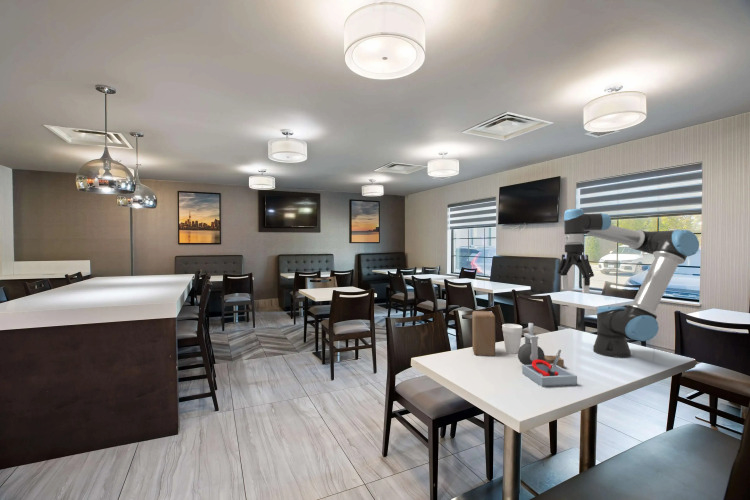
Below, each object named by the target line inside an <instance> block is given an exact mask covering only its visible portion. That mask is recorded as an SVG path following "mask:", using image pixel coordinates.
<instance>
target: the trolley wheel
mask: <svg viewBox="0 0 750 500" xmlns="http://www.w3.org/2000/svg"><path fill="white" fill-rule="evenodd" d="M527 327H528V332H527V333H525V332H524V333H523V336H524V344H522V345H520V348H519V351H518V354H517V358H518V360H519V362H520V364H522V365H532V362H533V360H536V359H539V360H543V361H544V358H545V351H544V350H543V349H542V348H541V347H540V346H539V345H538V342H539V341H538V339H539V336H538V335H536V334H534V323H533V322H528V326H527ZM537 364H542V363H537ZM537 364H536V365H537Z"/></svg>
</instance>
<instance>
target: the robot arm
mask: <svg viewBox="0 0 750 500" xmlns="http://www.w3.org/2000/svg"><path fill="white" fill-rule="evenodd" d="M563 228H564V229H563V230H564V243H565V244H564V252H565V254H561V260H560V263H559V267H558V269H557V274H559V275H560V281H561V290H565V291H566V290H569V276H568V273H569V271H570V269H571V268H572V266H573V265H574V266H576V267H577V268H578V270H579V272H580V274H581V275H582V278H581V281H582V282H581V287H582V288H581V291H582V294H590V285H591V278H592V277H595V274H594V271H593V269H592V268H593V267H592V266H591V263H590V260H589V256H588V254H583V253H584V252H585V245H584V243H585V235H587V236H590V237H595V238H598V239H602V240H606V241H610V242H613V243H618V244H620V245H621V244H622V245H625V246H628V247H629V249H632V250H636V251H639V252H642V253H646V254H651V255H653V257H654V258H653V261H652V263H651V265H650V267H649V270H648V271H647V273H646V275H645V278H644V280H643V281H642V283H641V285H640V287H639V289H638V291H637V293H636V295H635V297H634V299H633V301H632V302H631V303H629V304H627V305H626V307H625V306H620V305H619V306H618V305H617V306H616V305H606V306H605V305H603V306H598V307H597V310H596V319H597V320H596V322H597V323H596V325H597V329H596V330H597V335H596V339H595V341H594V344H593V346H592V347H593V349H592V350H593V352H594V353H596V354H599V355H602V356H605V357H611V358H629V357H631V354H632V353H631V349H630V347H629V344H628V341H627V338H629V339H631V340H635V341H639V342H647V341H650V340H652V339H653V338H655V337H656V336H657V334H658V333H659V330H660V329H659V328H660V327H659V322H658V320H657V317H658V316H657V313H656V310H657V309H658V306H659V304H660V302H661V300H662V298H663V297H664V294H665V292H666V290H667V288H668V286H669V284H670V283H671V280H672V278H673V276H674V275H675V272H676V270H677V268H678V266H679V265H681V264H684V263H685V262H686V259H687V258H688V257H690V256H693V255H696V254H697V252H698V251H699V249H700V241H699V238H698V237H697V235H696V234H695V233H694V232H693V231H691V230H688V229H674V230H671V229H670V230H655V231H645V230H641V229H638V230H637V229H636V230H633V229H628V228H625V227H621V226H616V225H613V224H612V218H611V215H609V214H608V213H601V212H600V213H599V212H598V213H585V212H584V209H582V208H569V209H566V210H565V211H564V216H563Z"/></svg>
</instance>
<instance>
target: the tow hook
mask: <svg viewBox="0 0 750 500" xmlns="http://www.w3.org/2000/svg"><path fill="white" fill-rule="evenodd" d="M561 352H562V350H561V349H558V352H557V353H556V354H555V356H556V357H555V360H554V362H553V365H550V364H549V363H548V362H546V361H543V360H539V359H536V360H533V362H532V367H533V368H534V369H535V370H536V371H537V372H539V373H541V374H542V375H543V377H545V376H558V372H555V369H556V364H557V362H558V359H559V357H560V358H561ZM537 363H542V364H544V365H546V366H547V367H549V369H550V370H548V373H546V372H545V371H543V370H541V369H539V368H538V367H537V366H536V364H537Z"/></svg>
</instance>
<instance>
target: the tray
mask: <svg viewBox="0 0 750 500" xmlns="http://www.w3.org/2000/svg"><path fill="white" fill-rule="evenodd" d="M550 365H553V364H550ZM536 366H537V367H538V368H539V369H541V370H543V371H545V372H546V373H548V370H550V369H549V367H547V366H546V365H544V364H537V365H536ZM521 368H522V369H521V370H522V372H521V374H522V375H524V376H525V377H527V378H528V379H529V380H531V381H532V382H534V383H536V384H537V385H539V387H541V388H546V387H547V388H548V387H550V388H551V387H567V386H569V387H570V386H571V387H572V386H578V375H577V374H574V373H572V372H570V371H568V370H567V369H566V368H564V369H563V368H561V367H559V366H557V365H556V369H555V372H558V376H545V377H543V375H542V374H541V373H539V372H537V371H536V370H535V369H534V368H533V367H532V365H524V364H522V365H521Z"/></svg>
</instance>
